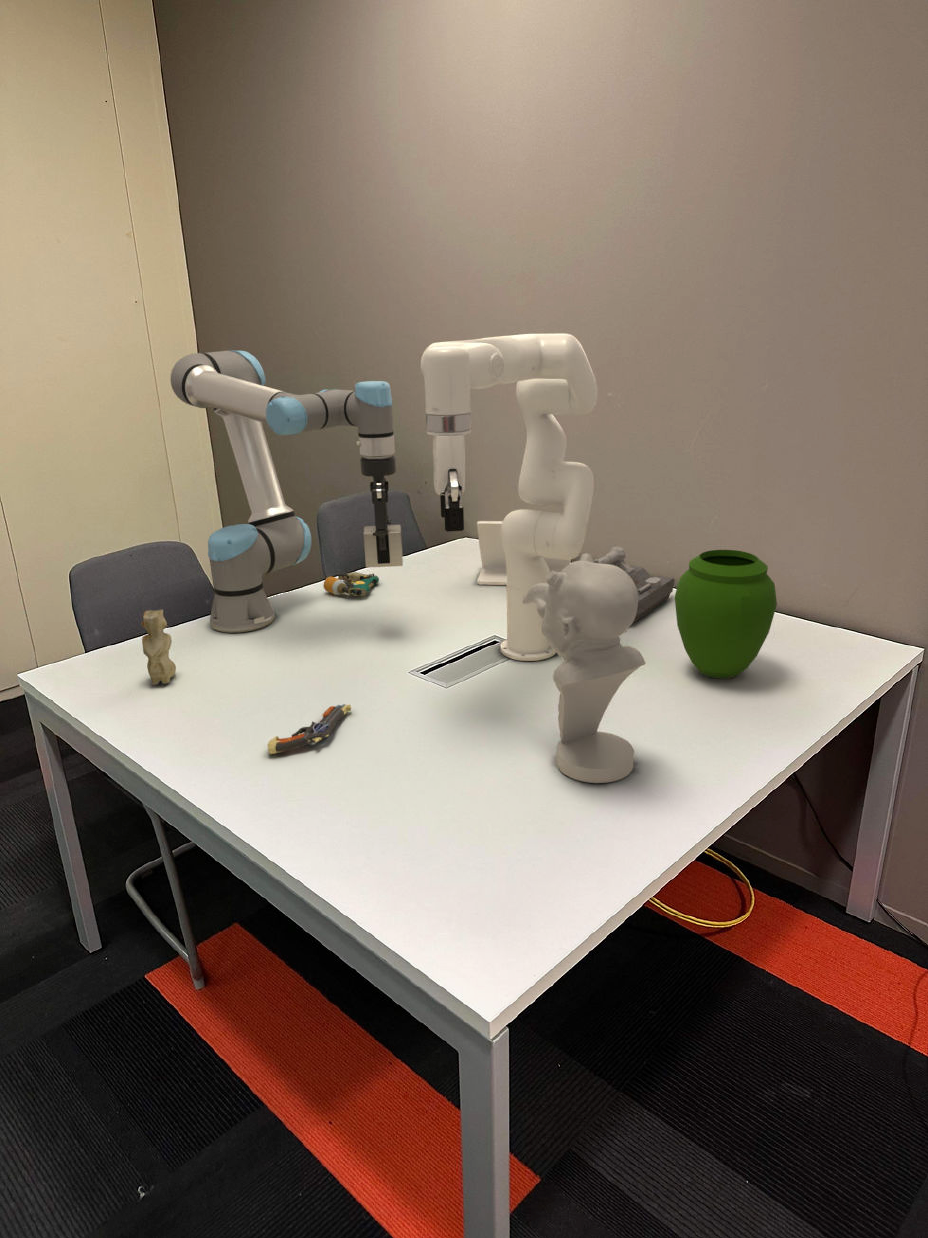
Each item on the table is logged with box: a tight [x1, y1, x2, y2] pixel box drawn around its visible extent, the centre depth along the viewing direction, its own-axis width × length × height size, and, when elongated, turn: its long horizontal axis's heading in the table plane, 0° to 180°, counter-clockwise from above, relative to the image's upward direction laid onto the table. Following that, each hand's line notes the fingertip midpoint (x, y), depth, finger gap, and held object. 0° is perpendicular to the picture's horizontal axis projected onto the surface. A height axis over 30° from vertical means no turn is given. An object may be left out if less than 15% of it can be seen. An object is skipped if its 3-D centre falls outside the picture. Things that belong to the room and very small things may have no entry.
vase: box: [674, 549, 778, 680], centre depth 171 cm, size 20×20×24 cm
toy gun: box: [267, 703, 352, 755], centre depth 155 cm, size 3×19×10 cm
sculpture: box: [141, 608, 177, 685], centre depth 176 cm, size 6×7×15 cm
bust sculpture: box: [522, 553, 646, 784], centre depth 140 cm, size 16×24×35 cm, turn 28°
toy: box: [593, 546, 676, 624], centre depth 212 cm, size 25×20×15 cm
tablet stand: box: [476, 520, 572, 586], centre depth 236 cm, size 18×25×17 cm
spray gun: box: [323, 571, 380, 597], centre depth 231 cm, size 4×17×15 cm
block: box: [362, 524, 404, 569], centre depth 191 cm, size 7×8×8 cm
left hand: (384, 558), depth 192 cm, fingers closed on block, 7 cm apart
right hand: (452, 523), depth 149 cm, fingers open, 9 cm apart
